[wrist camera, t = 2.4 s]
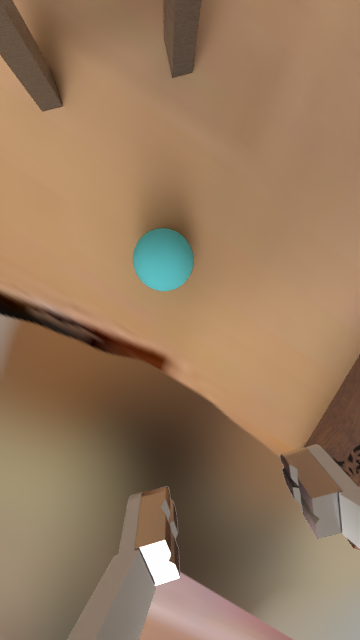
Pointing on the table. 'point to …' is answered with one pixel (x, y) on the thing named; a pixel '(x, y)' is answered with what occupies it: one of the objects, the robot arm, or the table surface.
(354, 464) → the tissue box cover
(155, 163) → the table surface
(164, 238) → the ball
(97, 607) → the robot arm
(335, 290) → the table surface
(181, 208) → the table surface
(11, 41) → the bridge
